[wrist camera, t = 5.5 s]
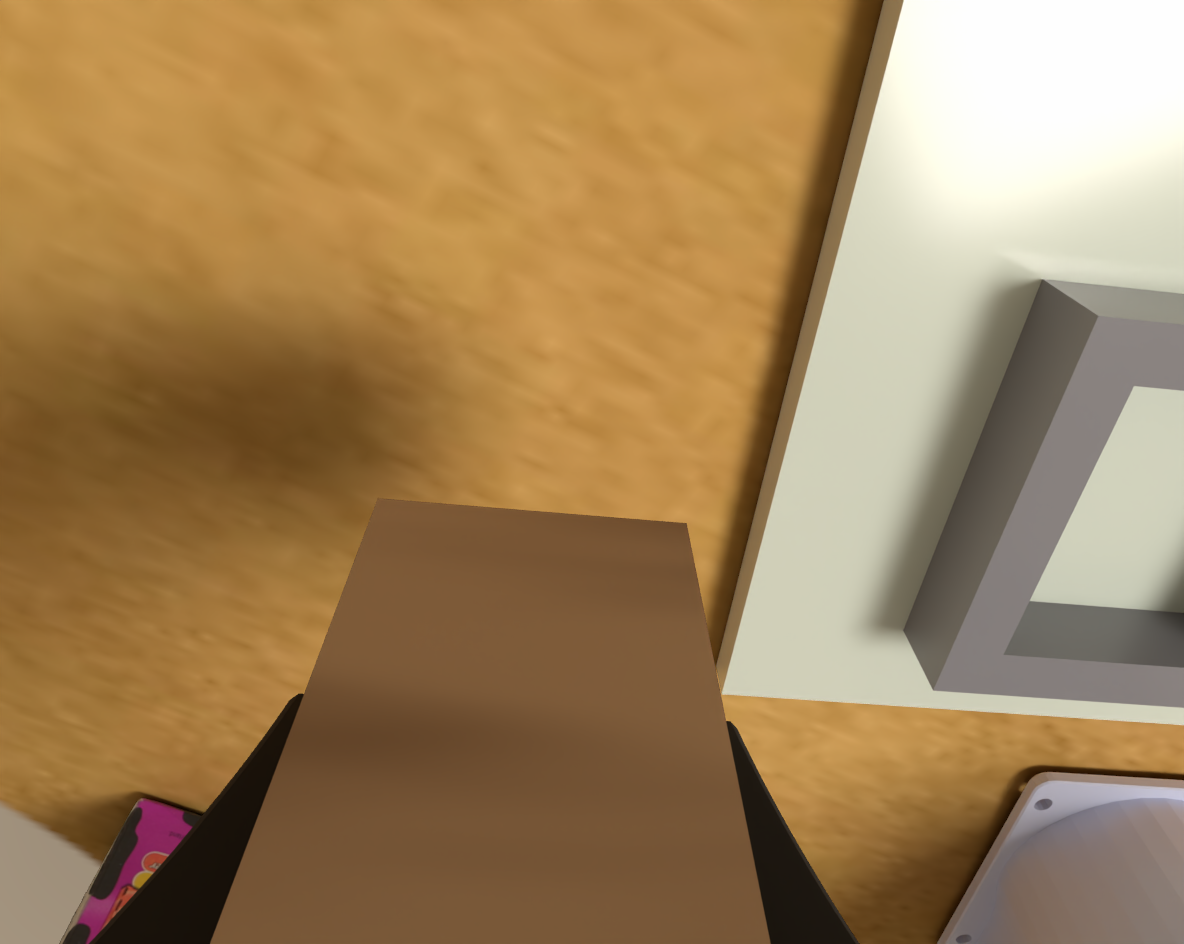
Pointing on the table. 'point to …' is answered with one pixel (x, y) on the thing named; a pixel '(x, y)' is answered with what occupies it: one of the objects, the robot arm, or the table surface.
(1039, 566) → the board with square socket
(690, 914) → the brown wooden block
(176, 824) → the candy bar box
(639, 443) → the table surface
